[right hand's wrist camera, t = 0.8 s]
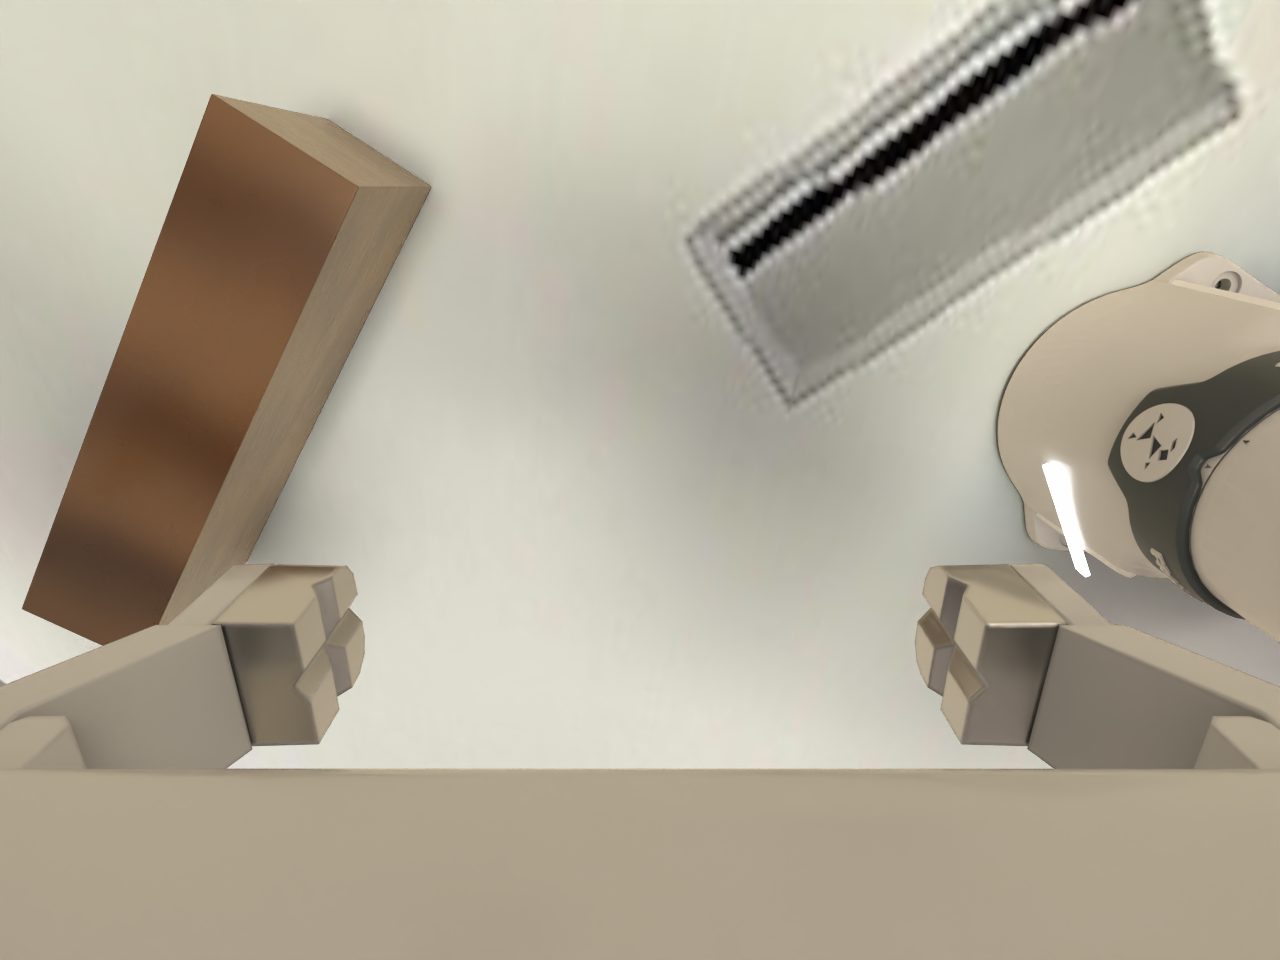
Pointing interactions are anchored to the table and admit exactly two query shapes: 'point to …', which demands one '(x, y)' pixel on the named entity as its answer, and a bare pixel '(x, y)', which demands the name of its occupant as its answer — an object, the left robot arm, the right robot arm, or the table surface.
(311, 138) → the box
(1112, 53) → the table surface
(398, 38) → the table surface
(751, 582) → the table surface
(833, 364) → the table surface
